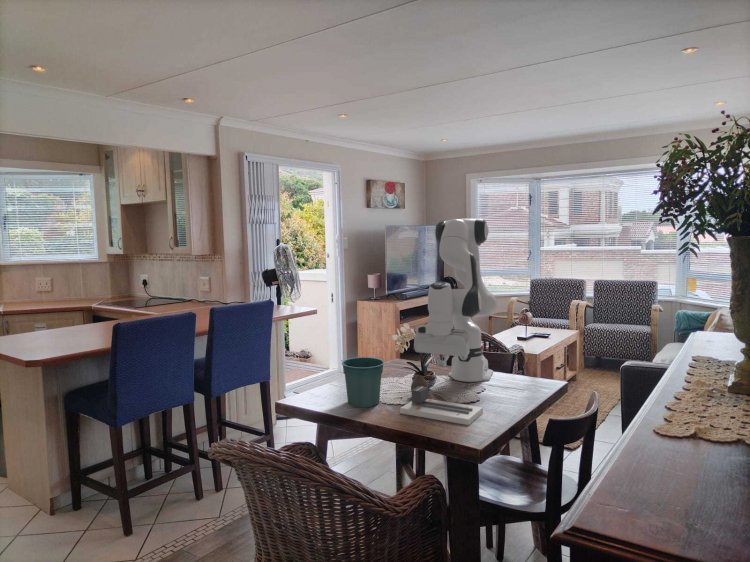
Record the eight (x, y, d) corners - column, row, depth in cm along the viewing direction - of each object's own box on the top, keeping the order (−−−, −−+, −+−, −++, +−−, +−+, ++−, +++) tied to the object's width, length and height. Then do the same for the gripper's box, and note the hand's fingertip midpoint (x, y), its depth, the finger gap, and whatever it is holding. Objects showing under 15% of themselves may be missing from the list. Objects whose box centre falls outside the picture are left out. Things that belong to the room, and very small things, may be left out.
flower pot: (392, 399, 210) (391, 359, 208) (372, 412, 195) (371, 369, 194) (356, 394, 218) (355, 355, 216) (334, 406, 203) (333, 364, 202)
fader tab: (419, 400, 201) (418, 385, 200) (427, 401, 199) (427, 387, 199) (411, 404, 196) (411, 389, 195) (420, 406, 194) (420, 391, 194)
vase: (427, 400, 208) (427, 378, 207) (409, 399, 209) (409, 377, 209) (429, 395, 215) (429, 373, 214) (412, 394, 216) (411, 373, 215)
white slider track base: (417, 402, 206) (417, 395, 206) (482, 412, 193) (482, 405, 192) (400, 413, 194) (400, 405, 194) (468, 425, 181) (468, 417, 180)
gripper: (471, 328, 188) (472, 367, 190) (419, 324, 198) (420, 361, 200) (465, 332, 183) (466, 371, 184) (411, 327, 193) (412, 365, 194)
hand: (441, 366), depth 192 cm, fingers closed
